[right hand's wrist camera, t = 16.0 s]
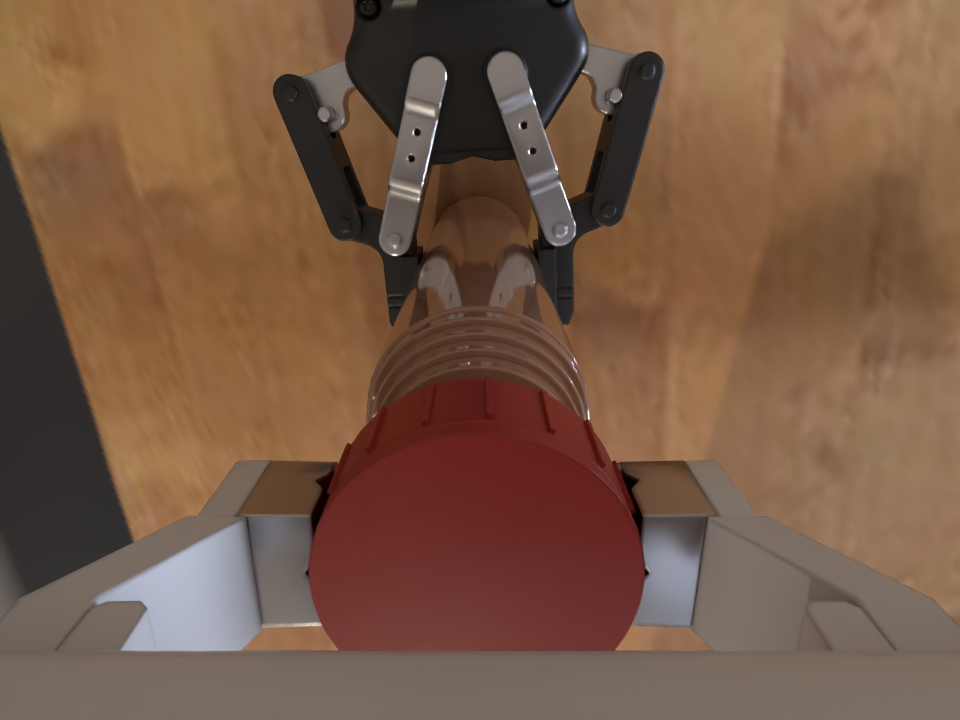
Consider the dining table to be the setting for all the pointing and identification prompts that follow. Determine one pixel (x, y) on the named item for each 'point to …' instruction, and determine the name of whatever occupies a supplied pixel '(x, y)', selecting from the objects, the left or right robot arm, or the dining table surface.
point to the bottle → (478, 314)
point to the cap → (477, 528)
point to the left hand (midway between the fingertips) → (483, 335)
